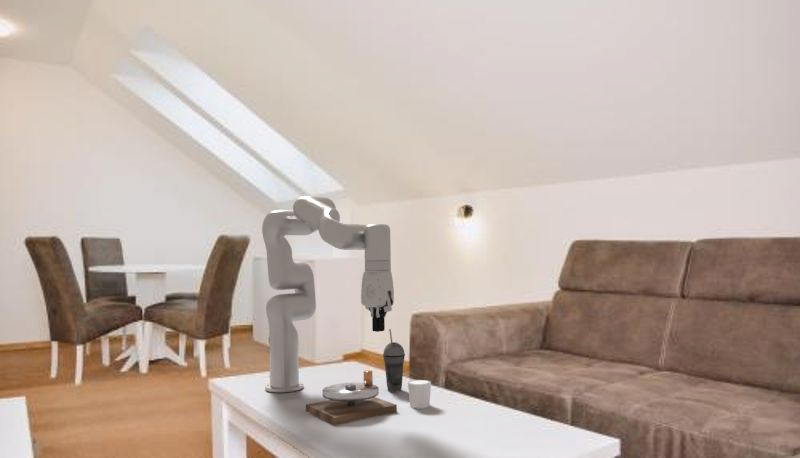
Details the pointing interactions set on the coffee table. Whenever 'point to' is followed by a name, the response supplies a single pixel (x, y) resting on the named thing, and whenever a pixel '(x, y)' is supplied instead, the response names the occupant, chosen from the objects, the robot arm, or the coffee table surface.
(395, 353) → the beverage cup
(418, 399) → the white faceted cup
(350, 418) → the wheel base
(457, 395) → the coffee table surface
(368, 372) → the handwheel
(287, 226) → the robot arm
